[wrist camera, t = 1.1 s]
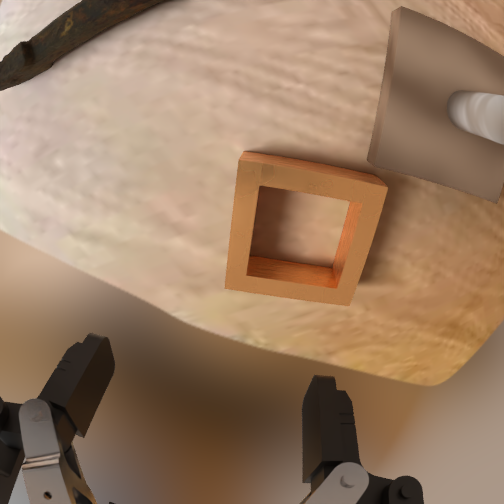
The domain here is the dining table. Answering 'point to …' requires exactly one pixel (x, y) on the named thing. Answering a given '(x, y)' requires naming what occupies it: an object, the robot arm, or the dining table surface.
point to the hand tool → (65, 37)
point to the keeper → (441, 107)
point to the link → (297, 274)
